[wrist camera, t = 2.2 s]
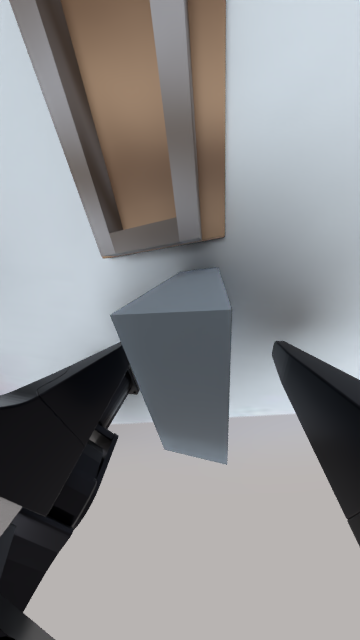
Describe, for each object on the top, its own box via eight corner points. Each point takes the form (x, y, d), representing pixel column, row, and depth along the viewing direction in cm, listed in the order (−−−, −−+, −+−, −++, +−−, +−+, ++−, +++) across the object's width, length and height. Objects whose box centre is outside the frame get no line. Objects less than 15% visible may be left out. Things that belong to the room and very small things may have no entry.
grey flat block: (219, 346, 14) (227, 464, 6) (190, 346, 15) (164, 449, 7) (218, 267, 11) (231, 309, 3) (180, 271, 11) (109, 315, 4)
